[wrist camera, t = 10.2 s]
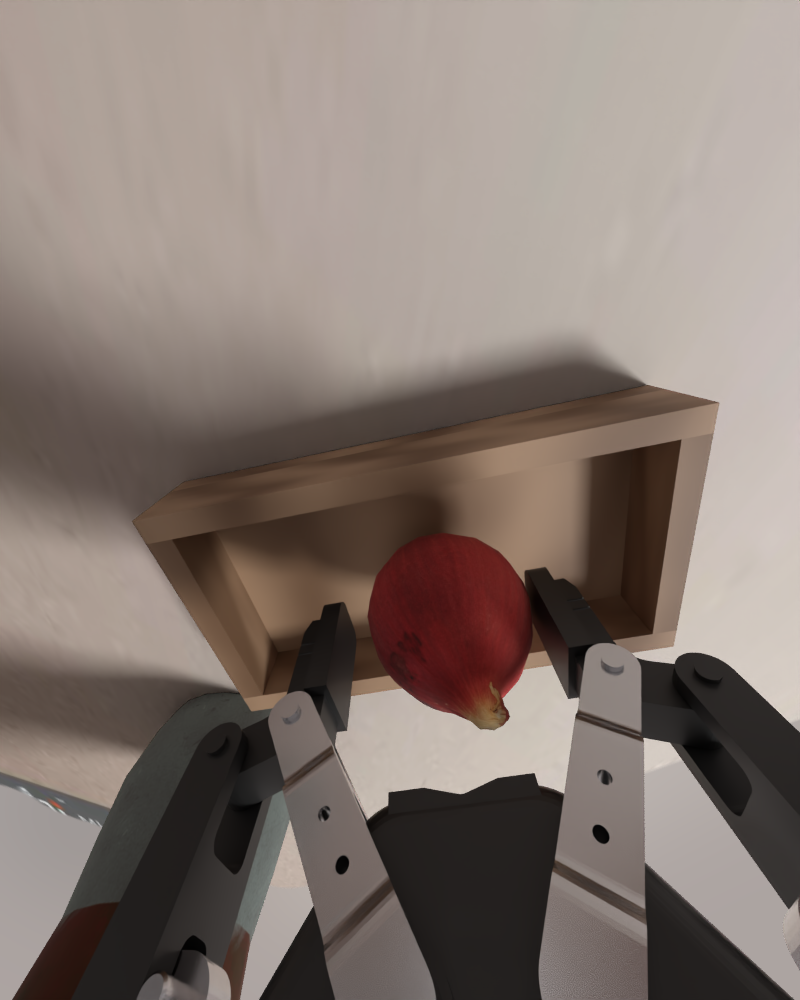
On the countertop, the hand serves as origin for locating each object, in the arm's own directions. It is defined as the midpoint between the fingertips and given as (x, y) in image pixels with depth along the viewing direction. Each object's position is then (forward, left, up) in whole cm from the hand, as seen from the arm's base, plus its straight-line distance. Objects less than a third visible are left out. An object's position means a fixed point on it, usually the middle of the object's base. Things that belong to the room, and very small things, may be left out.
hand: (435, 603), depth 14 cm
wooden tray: (0, 0, -4) cm, 4 cm away
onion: (0, 0, -3) cm, 3 cm away
